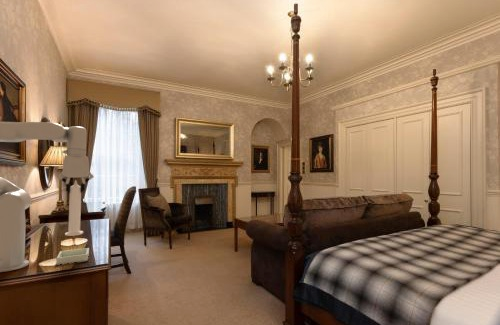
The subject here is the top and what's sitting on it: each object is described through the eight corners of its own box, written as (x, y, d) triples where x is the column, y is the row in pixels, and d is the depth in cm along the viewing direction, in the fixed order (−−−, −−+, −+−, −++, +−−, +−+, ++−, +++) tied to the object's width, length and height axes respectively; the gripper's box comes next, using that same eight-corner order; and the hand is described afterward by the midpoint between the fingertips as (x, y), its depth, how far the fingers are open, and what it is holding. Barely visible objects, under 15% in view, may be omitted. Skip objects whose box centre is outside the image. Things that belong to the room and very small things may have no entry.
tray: (87, 261, 120) (87, 254, 120) (56, 265, 115) (56, 258, 115) (88, 254, 131) (89, 247, 131) (60, 257, 125) (60, 251, 125)
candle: (61, 234, 122) (63, 179, 123) (77, 231, 128) (79, 179, 129) (70, 236, 118) (72, 180, 119) (86, 233, 125) (88, 179, 126)
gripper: (53, 152, 117) (52, 193, 116) (97, 153, 126) (96, 192, 125) (54, 153, 123) (53, 192, 122) (96, 154, 132) (95, 191, 132)
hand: (75, 192), depth 124 cm, fingers closed on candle, 4 cm apart
